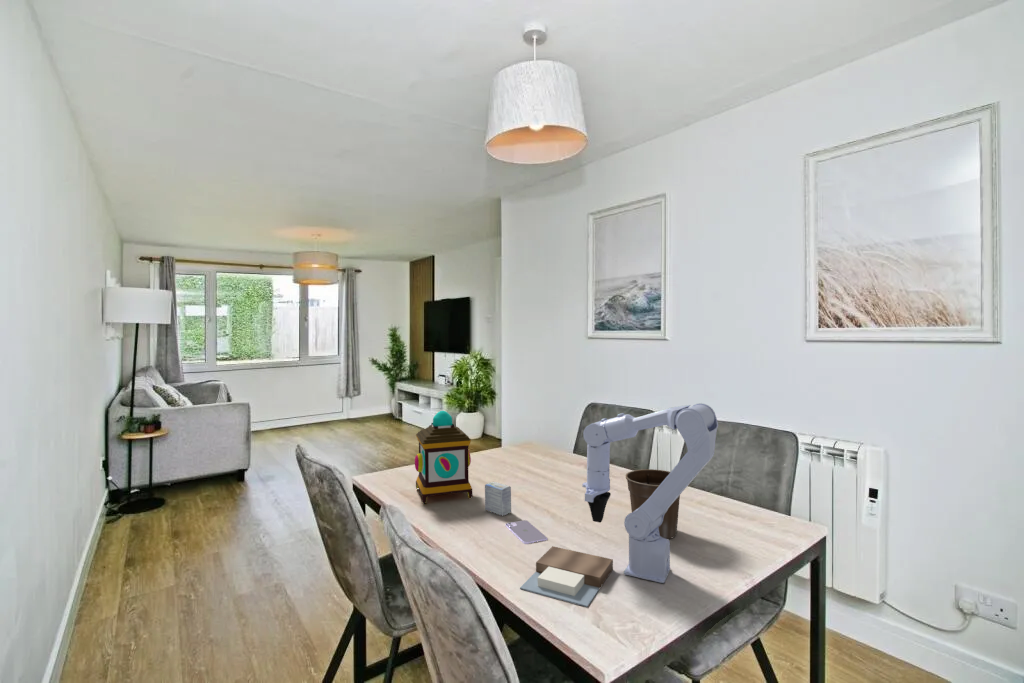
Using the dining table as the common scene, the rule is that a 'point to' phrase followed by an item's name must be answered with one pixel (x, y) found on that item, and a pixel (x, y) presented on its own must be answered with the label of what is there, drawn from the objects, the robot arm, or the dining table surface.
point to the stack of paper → (498, 498)
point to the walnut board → (577, 564)
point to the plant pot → (643, 488)
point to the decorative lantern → (442, 458)
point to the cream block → (561, 581)
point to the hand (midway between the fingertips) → (597, 521)
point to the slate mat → (580, 598)
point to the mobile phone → (525, 532)
